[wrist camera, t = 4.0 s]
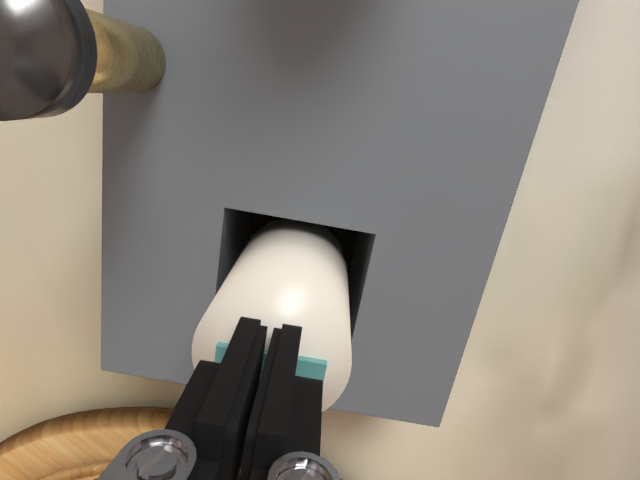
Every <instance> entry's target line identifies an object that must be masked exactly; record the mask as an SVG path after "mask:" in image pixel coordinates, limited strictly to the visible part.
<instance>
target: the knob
mask: <svg viewBox="0 0 640 480" xmlns="http://www.w3.org/2000/svg"><path fill="white" fill-rule="evenodd" d="M241 316H242V317H247V318H253V319H259V320H261V325H262V326H268V328H267V335H266V342H265V349H264V355H263V362H262V368H261V374H262V371H263V367H264V363H265V359H266V356H267V352H268V348H269V344H270V341H271V337H272V333H273V329H274V328H280V329H282V325H283V324H289V325H294V326H300V327H302V332H301V339H300V346H299V353H298V360H297V367H296V374H295V376H301V377H307V378H313V379H319V380H323V395H322V412H324V411H325V410H327V409H328V408H329V407H330V406H331V405H333V404H334V403H335V401H336V400H337V399H338V398H339V397H340V395H341V394H342V392H343V391H344V389H345V387H346V385H347V383H348V380H349V377H350V374H351V367H352V350H351V330H350V310H349V289H348V269H347V260H346V256H345V252H344V250H343V248H342V246H341V244H340V243H339V241H338V240H337V238H336V237H335V236H334V235H333V234H332V233H331V232H330V231H329V230H327V229H326V228H325V227H323V226H321V225H320V224H315V223H309V222H304V221H298V220H292V219H287V218H284V219H279V220H275V221H273V222H270V223H268V224H266V225H265V226H263V227H261V228H260V229H259V230H258V231H256V233H255V234H254V235H253V236H252V237H251V238H250V240H249V241H248V243H247V244H246V246H245V248H244V249H243V251H242V253H241V254H240V256H239V258H238V259H237V261H236V263H235V264H234V266H233V268H232V269H231V271H230V273H229V274H228V276H227V278H226V279H225V281H224V282H223V284H222V286H221V287H220V289H219V291H218V292H217V294H216V296H215V297H214V299H213V301H212V302H211V304H210V306H209V307H208V309H207V311H206V312H205V314H204V316H203V317H202V319H201V321H200V322H199V324H198V326H197V328H196V331H195V334H194V337H193V342H192V362H193V367H194V370H195V368H196V366H197V364H198V362H199V361H200V360H206V361H212V362H218V363H221V361H222V359H223V357H224V354H225V352H226V350H227V347H228V345H229V343H230V340H231V338H232V336H233V333H234V331H235V328H236V326H237V324H238V321H239V319H240V317H241ZM260 378H261V375H260Z"/></svg>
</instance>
